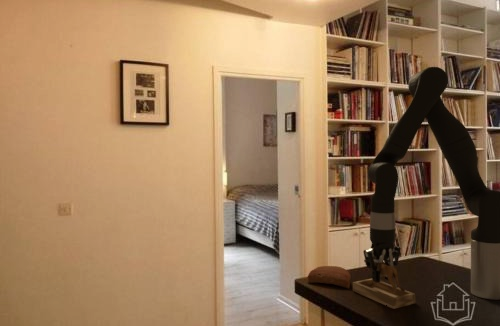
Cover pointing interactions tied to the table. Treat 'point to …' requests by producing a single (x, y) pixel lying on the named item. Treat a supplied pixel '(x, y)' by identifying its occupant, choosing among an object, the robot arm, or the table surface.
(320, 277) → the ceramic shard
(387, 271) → the lion figurine
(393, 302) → the rectangular tray
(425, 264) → the table surface
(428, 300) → the table surface
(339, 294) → the table surface
